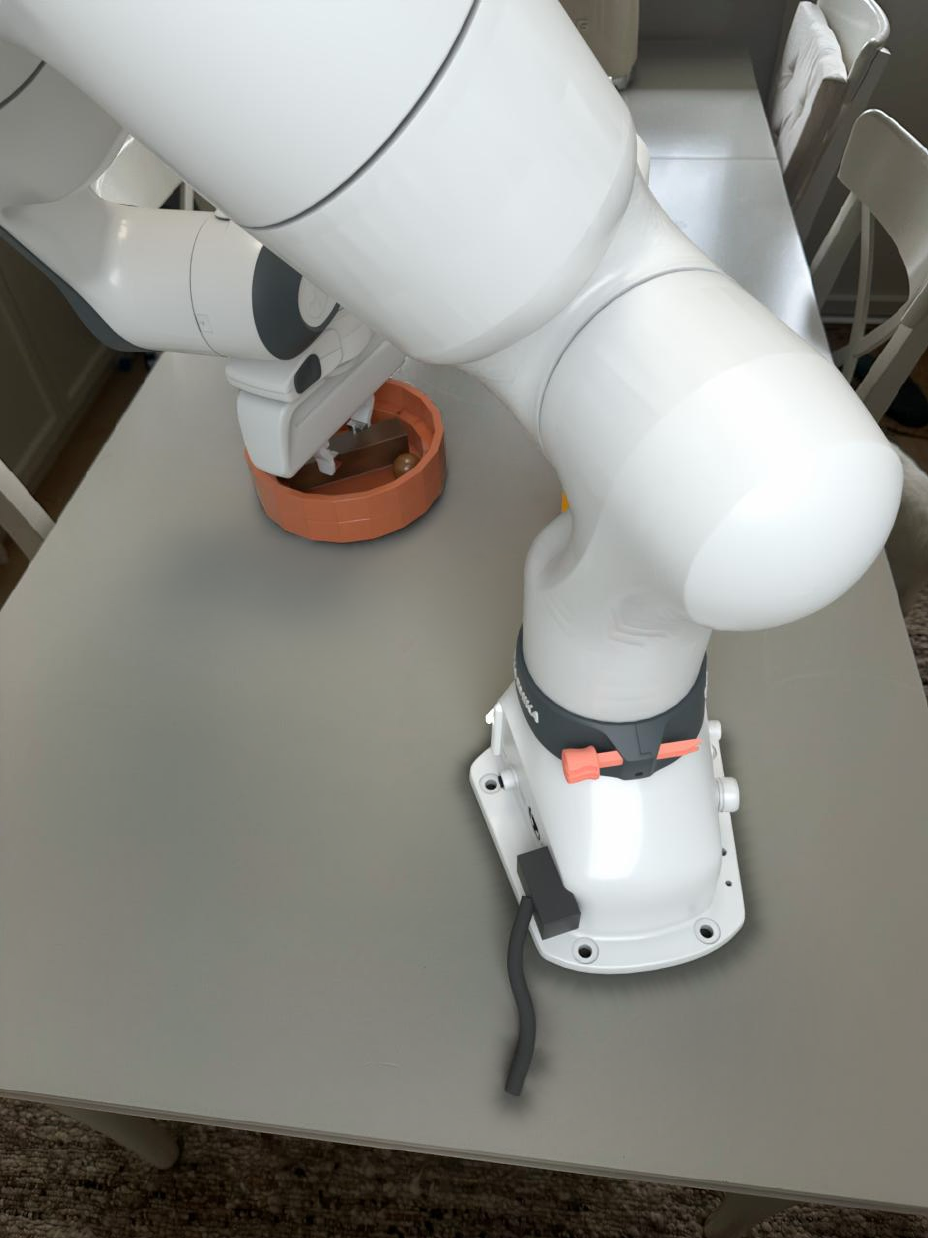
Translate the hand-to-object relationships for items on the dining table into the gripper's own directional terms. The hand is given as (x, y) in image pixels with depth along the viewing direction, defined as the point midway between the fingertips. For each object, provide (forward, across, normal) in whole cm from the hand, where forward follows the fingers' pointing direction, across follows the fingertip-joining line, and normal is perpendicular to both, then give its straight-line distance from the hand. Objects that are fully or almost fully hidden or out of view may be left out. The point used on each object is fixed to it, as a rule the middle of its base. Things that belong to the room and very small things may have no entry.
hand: (346, 452), depth 83 cm
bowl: (+4, 0, 0) cm, 4 cm away
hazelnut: (+3, -2, +4) cm, 6 cm away
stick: (+2, 0, 0) cm, 2 cm away
